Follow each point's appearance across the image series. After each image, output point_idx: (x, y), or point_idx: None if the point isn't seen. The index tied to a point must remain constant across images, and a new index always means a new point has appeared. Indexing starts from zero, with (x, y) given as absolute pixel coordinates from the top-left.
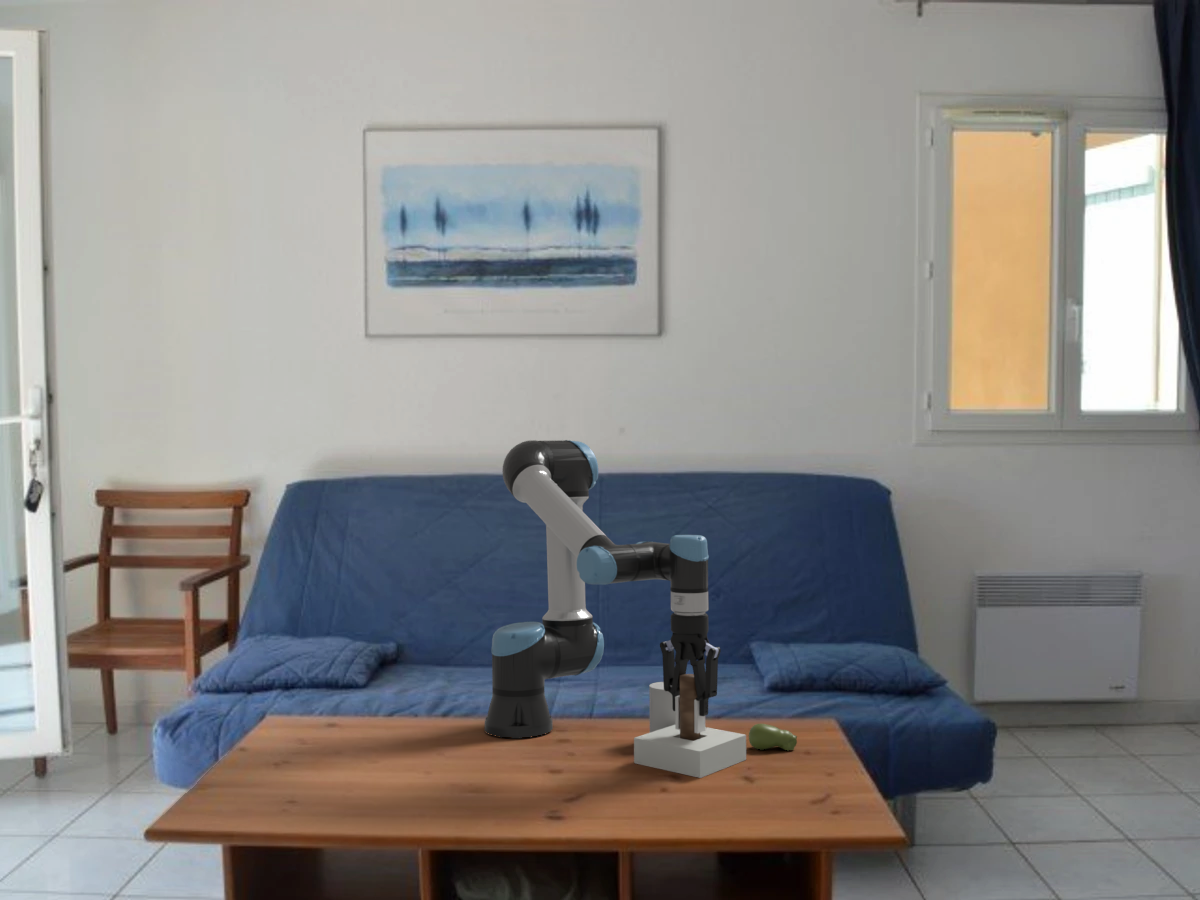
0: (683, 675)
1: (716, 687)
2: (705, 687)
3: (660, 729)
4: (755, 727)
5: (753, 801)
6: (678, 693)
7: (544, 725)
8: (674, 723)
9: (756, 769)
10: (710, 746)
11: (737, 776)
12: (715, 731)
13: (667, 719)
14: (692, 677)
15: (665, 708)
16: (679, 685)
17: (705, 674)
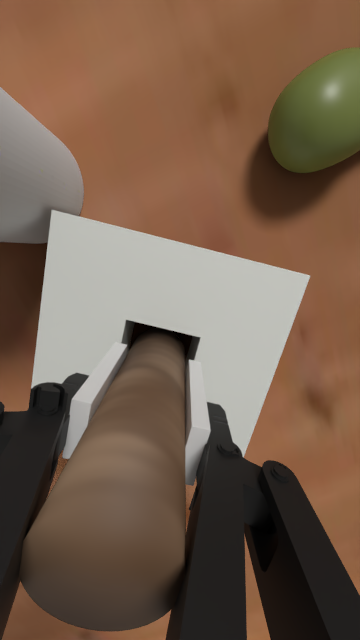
0: (47, 575)
1: (311, 518)
2: (254, 569)
3: (40, 328)
4: (314, 134)
5: (352, 512)
6: (61, 444)
7: None
8: (34, 224)
9: (321, 335)
10: (244, 433)
11: (292, 398)
12: (204, 277)
13: (6, 236)
14: (146, 607)
15: None
16: (47, 484)
17: (242, 590)
